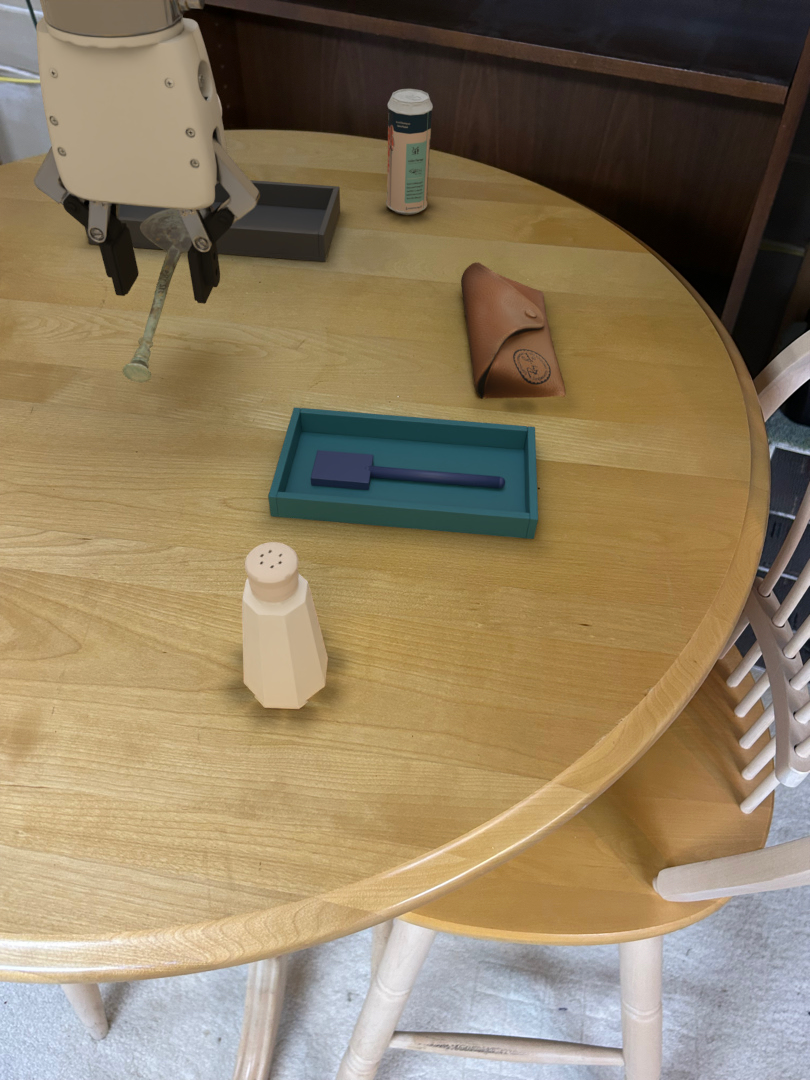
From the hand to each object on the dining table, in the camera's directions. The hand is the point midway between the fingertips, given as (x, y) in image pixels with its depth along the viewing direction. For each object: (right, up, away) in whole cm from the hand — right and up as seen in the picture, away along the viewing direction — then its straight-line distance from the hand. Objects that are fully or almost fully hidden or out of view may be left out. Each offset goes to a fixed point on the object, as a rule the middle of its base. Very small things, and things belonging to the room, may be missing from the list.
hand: (166, 287), depth 58 cm
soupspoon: (0, 0, 0) cm, 1 cm away
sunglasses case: (+27, 0, +17) cm, 32 cm away
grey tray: (-3, +16, +30) cm, 34 cm away
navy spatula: (+18, -14, +3) cm, 22 cm away
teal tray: (+17, -14, +4) cm, 23 cm away
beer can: (+17, +20, +35) cm, 44 cm away
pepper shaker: (+10, -27, -8) cm, 30 cm away
